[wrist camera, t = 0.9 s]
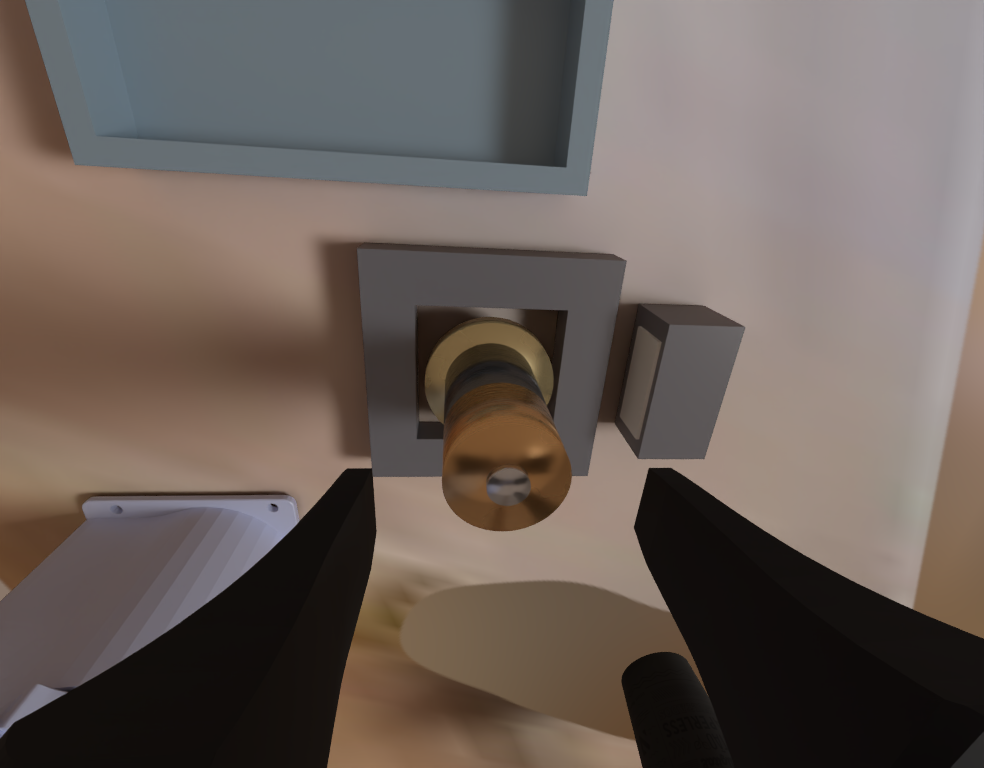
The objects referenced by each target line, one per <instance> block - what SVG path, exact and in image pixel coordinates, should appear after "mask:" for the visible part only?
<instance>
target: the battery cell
mask: <svg viewBox="0 0 984 768" xmlns="http://www.w3.org/2000/svg"><path fill="white" fill-rule="evenodd" d="M571 478H572V470H571V464H570V460H569V458H568V455H567V453H566V451H565V448H564V446H563V443H562V441H561V439H560V436H559V434H558V431H557V429H556V426H555V424H554V422H553V419H552V417H551V414H550V412H549V410H548V407H547V405H546V402H545V400H544V398H543V395H542V393H541V390H540V388H539V386H538V383H537V381H536V378H535V376H534V374H533V371H532V369H531V366H530V364H529V363H528V361H527V360H526V359H525V357H524V356H523V355H522V354H520V353H519V352H518V351H516V350H515V349H513V348H511V347H509V346H506V345H502V344H496V343H486V344H480V345H476V346H473V347H471V348H469V349H467V350H465V351H464V352H462V353H461V354H460V355H459V356H458V357H457V358H456V359H455V360H454V361H453V362H452V364H451V365H450V367H449V369H448V372H447V374H446V379H445V397H444V432H443V467H442V488H443V493H444V496H445V499H446V501H447V503H448V505H449V506H450V508H451V509H452V510H453V511H454V513H455V514H456V515H458V516H459V517H460V518H461V519H463V520H464V521H466V522H467V523H469V524H471V525H473V526H476V527H479V528H482V529H486V530H492V531H512V530H518V529H522V528H526V527H529V526H531V525H534V524H536V523H538V522H540V521H542V520H543V519H545V518H546V517H548V516H549V515H550V514H552V513H553V512H554V511H555V510H556V509H557V508H558V507H559V506H560V504H561V503H562V502H563V500H564V499H565V497H566V495H567V493H568V491H569V488H570V484H571Z"/></svg>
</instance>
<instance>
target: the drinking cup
mask: <svg viewBox="0 0 984 768" xmlns="http://www.w3.org/2000/svg"><path fill="white" fill-rule="evenodd" d="M622 686H623V690H624V694H625V698H626V702H627V706H628V711H629V715H630V719H631V723H632V726H633V730H634V734H635V739H636V743H637V747H638V751H639V755H640V759H641V763H642V767H643V768H735V767H734V764H733V761H732V758H731V755H730V753H729V750H728V747H727V744H726V742H725V739H724V736H723V733H722V731H721V728H720V725H719V722H718V720H717V717H716V714H715V711H714V709H713V706H712V704H711V701H710V698H709V697H708V695H707V693H706V692H705V690H704V688H703V687H702V685H701V683H700V681H699V680H698V678H697V676H696V675H695V673H694V672H693V670H692V668H691V666H690V665H689V663H688V661H687V660H686V659H685V658H684V657H683V656H681V655H679V654H676V653H671V652H658V653H653V654H649V655H646V656H644V657H641V658H639V659H638V660H636V661H634V662H633V663H631V664H630V665H629V666H628V667H627V668H626V670H625V671H624V673H623V675H622Z"/></svg>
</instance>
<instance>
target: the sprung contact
mask: <svg viewBox="0 0 984 768" xmlns="http://www.w3.org/2000/svg"><path fill="white" fill-rule="evenodd" d="M486 343H496V344H502V345H506V346H509V347H511V348H513V349H515V350H516V351H518V352H519V353H520V354H522V355H523V356H524V357H525V359H526V360H527V361H528V363H529V364H530V366H531V369H532V371H533V374H534V376H535V378H536V381H537V383H538V386H539V388H540V390H541V393H542V395H543V398H544V400H545V402H546V405H548V403H549V400H550V397H551V395H552V390H553V382H554V377H553V369H552V365H551V362H550V359H549V357H548V355H547V353H546V351H545V349H544V348H543V346H542V344H541V342H540V341H539V340H538V339H537V337H536V336H535V335H534V334H533V333H532V332H531V331H529V330H528V329H526V328H525V327H524V326H522V325H520V324H518V323H516V322H513V321H511V320H508V319H503V318H497V317H482V318H476V319H472V320H469V321H466V322H463V323H461V324H459V325H457V326H455V327H454V328H452V329H451V330H449V331H448V332H447V333H446V334H444V335H443V336H442V337H441V339H440V340H439V341H438V342H437V343H436V345H435V346H434V348H433V350H432V352H431V354H430V356H429V359H428V362H427V367H426V373H425V393H426V398H427V401H428V404H429V406H430V408H431V410H432V412H433V413H434V415H435V416H436V417H437V419H438V420H439V421H440V422H441V423H442V424H443V425H444V397H445V379H446V374H447V372H448V369H449V367H450V365H451V364H452V362H453V361H454V360H455V359H456V358H457V357H458V356H459V355H460V354H461V353H462V352H464V351H465V350H467V349H469V348H471V347H473V346H476V345H480V344H486Z"/></svg>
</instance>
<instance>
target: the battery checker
mask: <svg viewBox="0 0 984 768" xmlns="http://www.w3.org/2000/svg"><path fill="white" fill-rule="evenodd" d="M357 257H358V271H359V286H360V301H361V315H362V330H363V344H364V359H365V374H366V388H367V403H368V417H369V432H370V447H371V461H372V473H373V477H433V476H442V467H443V432H444V425H443V424H442V423H441V422H419V395H418V322H417V305H425V306H454V307H483V308H512V309H542V310H559V312H558V320H557V328H556V336H555V344H554V352H553V360H552V369H553V377H554V382H553V390H552V395H551V397H550V400H549V403H548V405H547V407H548V410H549V412H550V414H551V417H552V419H553V422H554V424H555V426H556V429H557V431H558V434H559V436H560V439H561V441H562V443H563V446H564V448H565V451H566V453H567V455H568V458H569V460H570V464H571V470H572V476H588V470H589V465H590V459H591V454H592V448H593V443H594V437H595V432H596V426H597V421H598V415H599V410H600V404H601V399H602V393H603V388H604V382H605V377H606V371H607V366H608V360H609V355H610V349H611V344H612V338H613V333H614V327H615V322H616V316H617V311H618V305H619V300H620V294H621V289H622V283H623V278H624V272H625V267H626V260H624V259H622V258H620V257H618V256H616V255H614V254H593V253H572V252H551V251H530V250H509V249H488V248H467V247H446V246H425V245H404V244H383V243H363V244H362V245H361V246H359V247H358V248H357ZM744 330H745V327H744V326H742V325H740V324H739V323H737V322H735V321H733V320H731V319H729V318H727V317H725V316H723V315H721V314H719V313H717V312H715V311H713V310H711V309H710V308H708V307H706V306H692V305H665V304H639V306H638V311H637V316H636V321H635V326H634V331H633V336H632V341H631V346H630V351H629V356H628V361H627V366H626V371H625V376H624V381H623V386H622V391H621V396H620V401H619V405H618V410H617V415H616V420H615V425H616V426H617V428H618V429H619V431H620V432H621V434H622V435H623V437H624V438H625V440H626V441H627V443H628V444H629V446H630V447H631V449H632V450H633V452H634V454H635V455H636V457H637V458H638V459H704V458H705V455H706V452H707V449H708V446H709V442H710V439H711V436H712V433H713V430H714V426H715V423H716V420H717V417H718V413H719V410H720V407H721V404H722V401H723V397H724V394H725V391H726V388H727V385H728V381H729V378H730V375H731V372H732V369H733V365H734V362H735V359H736V356H737V353H738V349H739V346H740V343H741V340H742V337H743V333H744Z"/></svg>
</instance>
